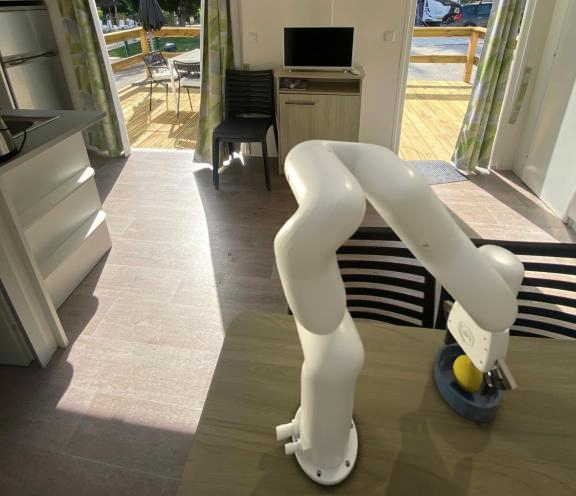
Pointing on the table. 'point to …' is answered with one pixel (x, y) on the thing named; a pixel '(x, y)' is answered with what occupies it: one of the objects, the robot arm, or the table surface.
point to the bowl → (457, 397)
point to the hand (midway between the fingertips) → (467, 365)
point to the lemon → (467, 374)
